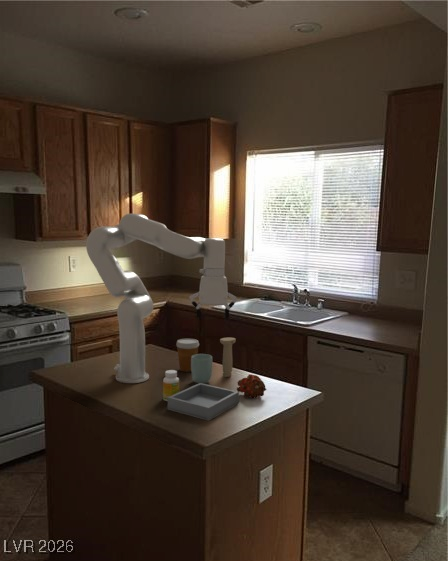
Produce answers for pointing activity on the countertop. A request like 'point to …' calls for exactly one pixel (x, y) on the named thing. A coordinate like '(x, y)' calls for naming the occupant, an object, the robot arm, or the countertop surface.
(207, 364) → the cup
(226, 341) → the handle
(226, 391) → the box
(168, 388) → the supplement bottle
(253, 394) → the dragon fruit
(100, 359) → the countertop surface
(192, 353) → the disposable coffee cup
